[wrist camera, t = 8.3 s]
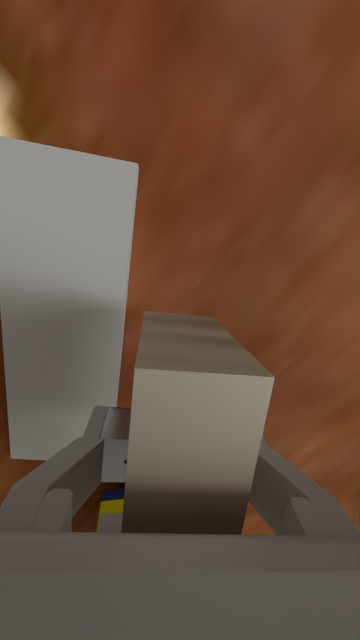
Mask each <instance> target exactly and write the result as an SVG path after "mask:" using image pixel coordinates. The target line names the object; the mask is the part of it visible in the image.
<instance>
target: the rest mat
mask: <svg viewBox="0 0 360 640" xmlns="http://www.w3.org/2000/svg"><path fill="white" fill-rule="evenodd" d="M138 174H139V166H138V163H133V162H128V161H123V160H118V159H113V158H108V157H103V156H98V155H93V154H88V153H83V152H78V151H73V150H68V149H63V148H58V147H53V146H48V145H43V144H38V143H33V142H28V141H23V140H18V139H13V138H8V137H3V136H0V311H1V325H2V339H3V353H4V368H5V382H6V396H7V410H8V424H9V439H10V453H11V459H29V460H48V459H49V458H51V457H52V456H54V455H55V454H56V453H58V452H59V451H60V450H62V449H63V448H64V447H66V446H67V445H69V444H70V443H71V442H73V441H74V440H75V439H77V438H78V437H79V438H82V437H83V435H84V432H85V430H86V427H87V424H88V422H89V419H90V416H91V414H92V411H93V408H94V407H95V406H96V405H98V406H108V407H109V406H110V407H117V398H118V388H119V377H120V366H121V356H122V345H123V334H124V323H125V313H126V302H127V291H128V281H129V270H130V259H131V249H132V238H133V227H134V216H135V206H136V195H137V184H138Z"/></svg>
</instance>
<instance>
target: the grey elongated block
mask: <svg viewBox="0 0 360 640" xmlns="http://www.w3.org/2000/svg"><path fill="white" fill-rule="evenodd" d="M274 378H275V377H274V376H273V375H272V374H271V373H270V372H269V371H268V370H266V369H265V368H264V367H263V366H262V365H261V364H260V363H259V362H258V361H257V360H256V359H255V358H254V357H253V356H252V355H251V354H250V353H249V352H248V351H247V350H246V349H245V348H244V347H243V346H242V345H241V344H240V343H238V342H237V341H236V340H235V339H234V338H233V337H232V336H231V335H230V334H229V333H228V332H227V331H226V330H225V329H224V328H223V327H222V326H221V325H220V324H219V323H218V322H217V321H216V320H215V319H214V318H213V317H205V316H194V315H184V314H173V313H162V312H152V311H145V313H144V318H143V324H142V330H141V335H140V341H139V347H138V352H137V358H136V363H135V370H134V382H133V394H132V407H131V419H130V431H129V443H128V455H127V467H126V480H125V492H124V504H123V513H101V516H100V521H99V526H98V531H97V533H166V534H234V535H241V533H242V528H243V523H244V519H245V514H246V509H247V504H248V500H249V495H250V490H251V486H252V481H253V476H254V472H255V467H256V462H257V458H258V453H259V448H260V444H261V439H262V434H263V430H264V425H265V420H266V416H267V411H268V406H269V402H270V397H271V392H272V388H273V383H274Z"/></svg>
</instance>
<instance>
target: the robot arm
mask: <svg viewBox="0 0 360 640" xmlns="http://www.w3.org/2000/svg"><path fill="white" fill-rule="evenodd" d="M130 419H131V408H120V407H110V406H109V407H108V406H98V405H96V406H95V407H94V408H93V411H92V414H91V416H90V419H89V422H88V424H87V427H86V430H85V432H84V435H83V437H82V438H79V437H78V438H77V439H75V440H74V441H73V442H71V443H70V444H69V445H67V446H66V447H64V448H63V449H62V450H60V451H59V452H58V453H56V454H55V455H54V456H52V457H51V458H49V459H48V460H47V461H45V462H44V463H43V464H41V465H40V466H38V467H37V468H36V469H34V470H33V471H32V472H30V473H29V474H28V475H26V476H25V477H23V478H22V479H21V480H19V481H18V482H17V483H15V484H14V485H13V486H12V487H11V489H10V491H9V492H8V494H7V496H6V497H5V499H4V501H3V503H2V504H1V506H0V640H360V534H359V532H358V531H357V529H356V528H355V526H354V525H353V523H352V522H351V520H350V519H349V517H348V516H347V514H346V513H345V511H344V510H343V508H342V507H341V505H340V504H339V502H338V501H337V499H336V498H335V497H334V496H333V495H331V494H330V493H329V492H327V491H326V490H325V489H324V488H322V487H321V486H320V485H318V484H317V483H316V482H315V481H313V480H312V479H311V478H309V477H308V476H307V475H306V474H304V473H303V472H302V471H300V470H299V469H298V468H296V467H295V466H294V465H293V464H291V463H290V462H289V461H287V460H286V459H285V458H284V457H282V456H281V455H280V454H278V453H277V452H276V451H275V450H273V449H269V448H268V446H267V444H266V442H265V440H264V438H263V436H262V439H261V444H260V448H259V453H258V458H257V462H256V467H255V472H254V476H253V481H252V486H251V490H250V495H249V500H248V501H249V502H250V504H251V505H252V506H253V507H254V508H255V510H256V511H257V512H258V513H259V515H260V516H261V517H262V518H263V520H264V521H265V522H266V523H267V525H268V526H269V527H270V528H271V530H272V531H273V532H274V533H275V535H234V534H166V533H97V532H71V528H72V517H73V516H74V515H75V514H76V513H77V511H78V510H79V509H80V508H81V507H82V506H83V504H84V503H85V502H86V501H87V500H88V498H89V497H90V496H91V495H92V494H93V492H94V491H95V490H96V489H97V488H98V486H99V485H100V484H101V482H125V480H126V467H127V455H128V443H129V431H130Z"/></svg>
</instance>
